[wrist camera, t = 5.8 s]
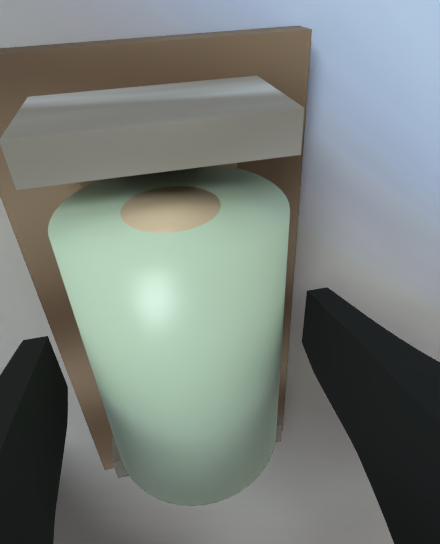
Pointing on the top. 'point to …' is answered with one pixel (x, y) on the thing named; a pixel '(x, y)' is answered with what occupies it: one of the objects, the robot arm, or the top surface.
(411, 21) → the top surface
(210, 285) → the roll
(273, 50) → the holder
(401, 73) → the top surface
